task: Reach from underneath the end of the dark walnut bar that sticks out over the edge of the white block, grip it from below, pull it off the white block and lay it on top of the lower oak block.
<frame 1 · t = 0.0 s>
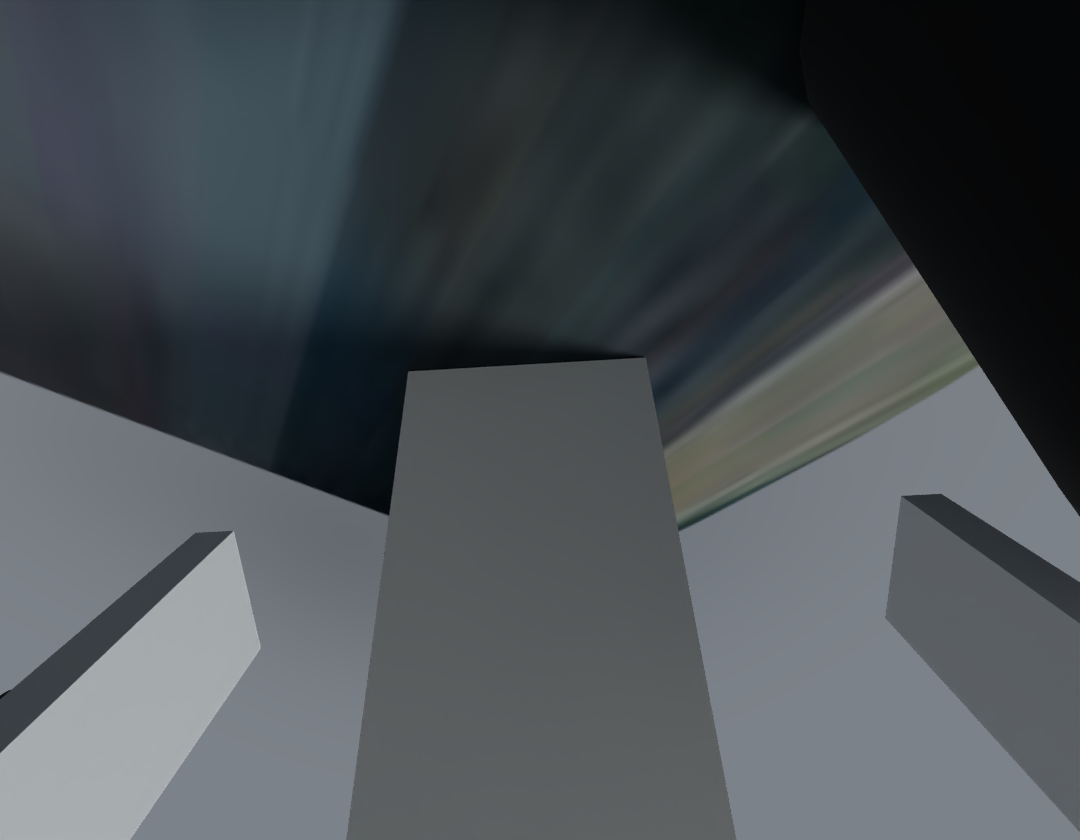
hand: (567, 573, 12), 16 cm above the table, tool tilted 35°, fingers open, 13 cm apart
white block: (531, 412, 33), on the table
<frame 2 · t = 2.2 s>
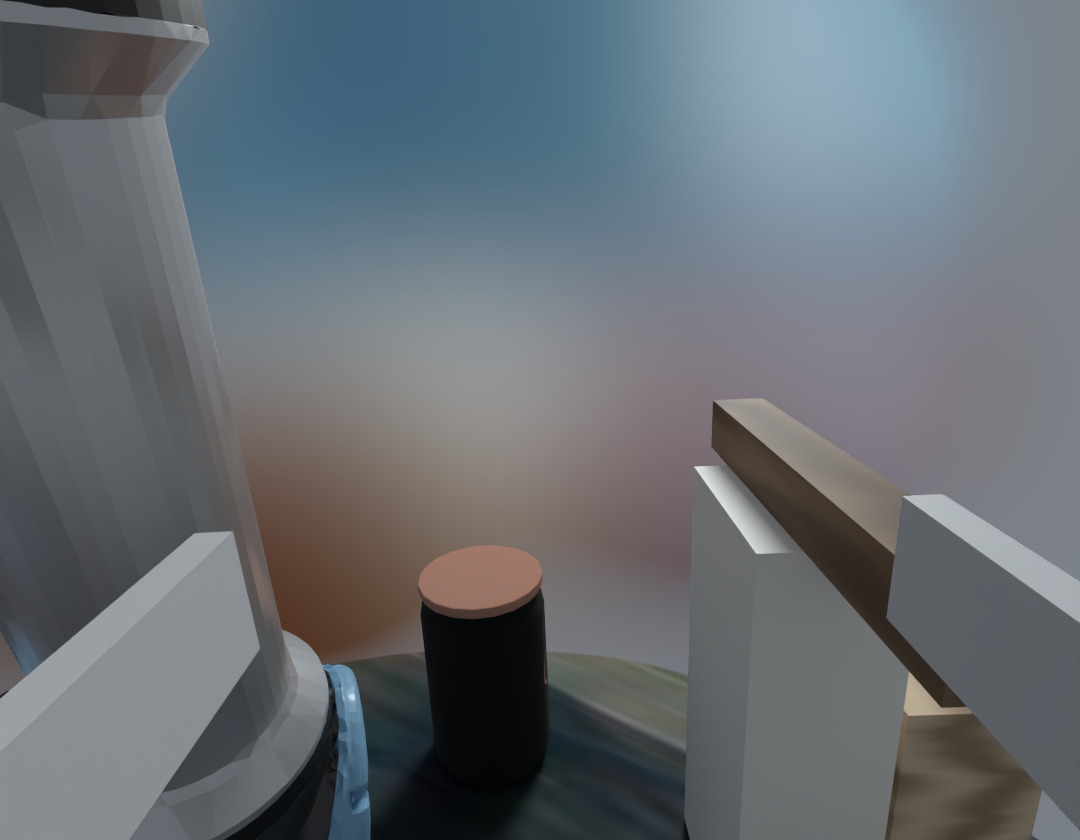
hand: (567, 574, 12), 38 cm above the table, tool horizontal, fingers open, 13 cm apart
coffee jar: (493, 746, 56), on the table
walnut bar: (813, 523, 31), point 30 cm above the table, touching white block
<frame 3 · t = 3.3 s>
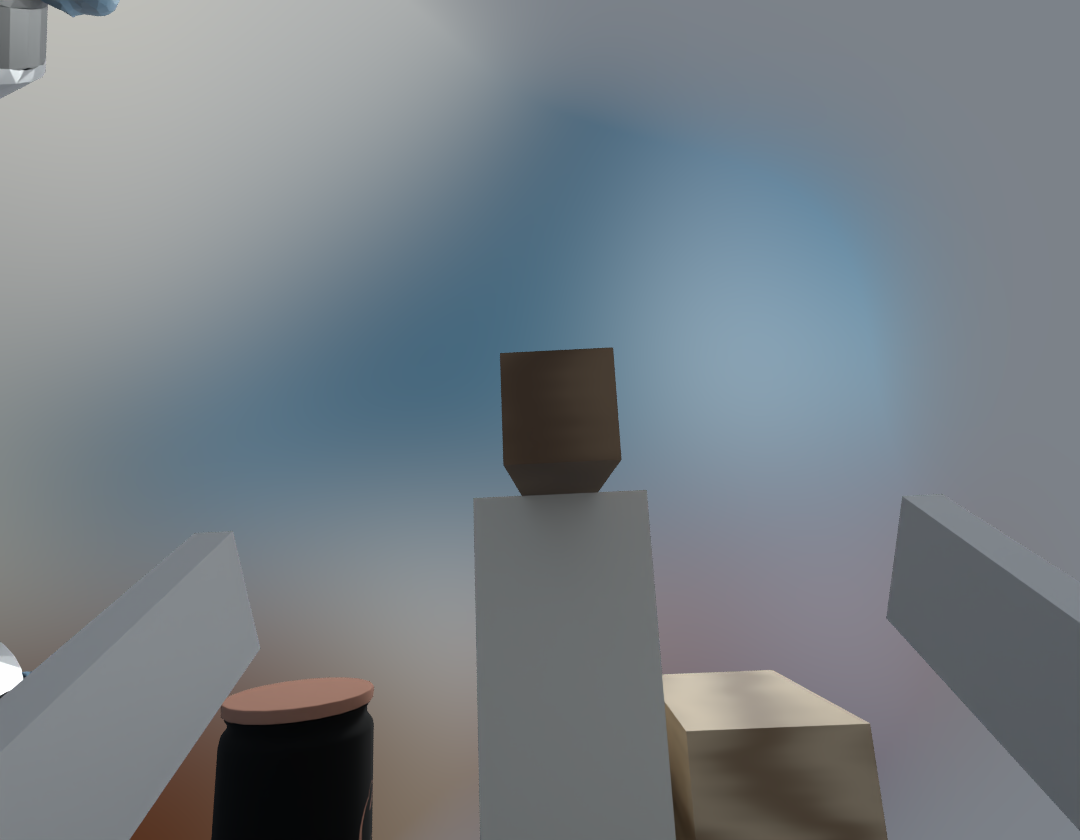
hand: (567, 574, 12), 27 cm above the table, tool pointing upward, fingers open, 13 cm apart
walnut bar: (559, 499, 30), point 30 cm above the table, touching white block
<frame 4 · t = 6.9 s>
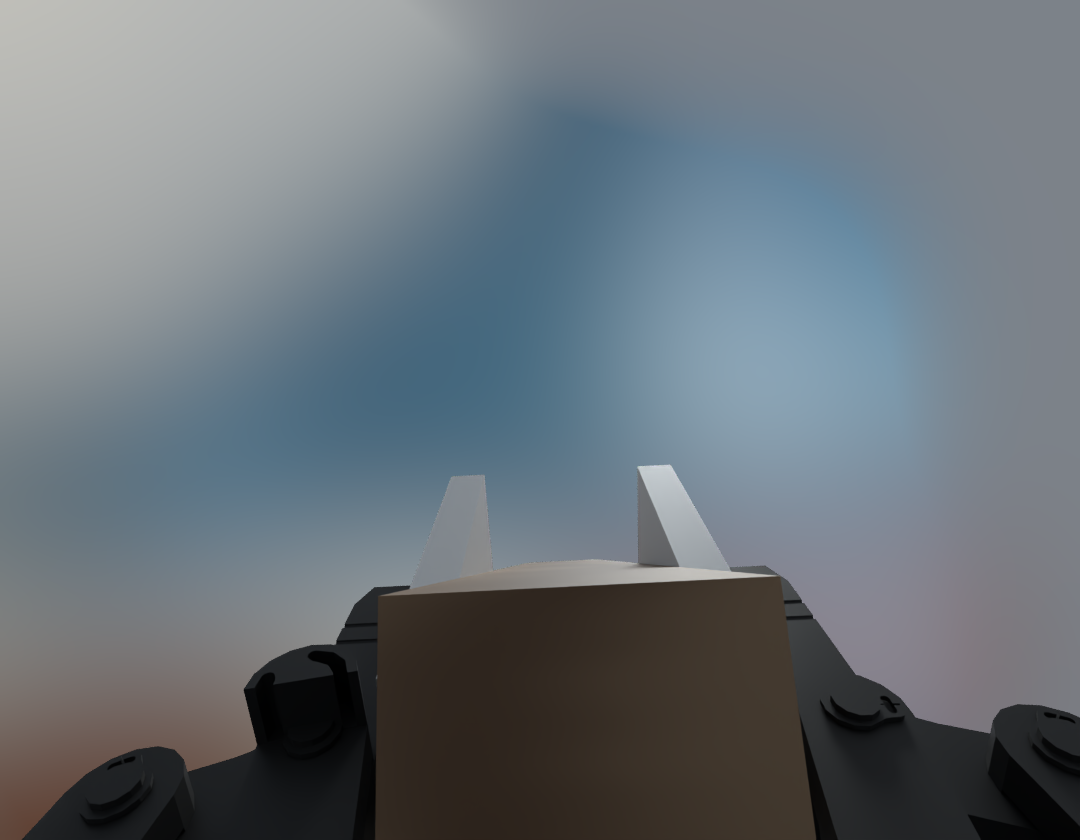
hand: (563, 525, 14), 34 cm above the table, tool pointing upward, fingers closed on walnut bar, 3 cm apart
walnut bar: (571, 689, 17), point 30 cm above the table, touching gripper, white block
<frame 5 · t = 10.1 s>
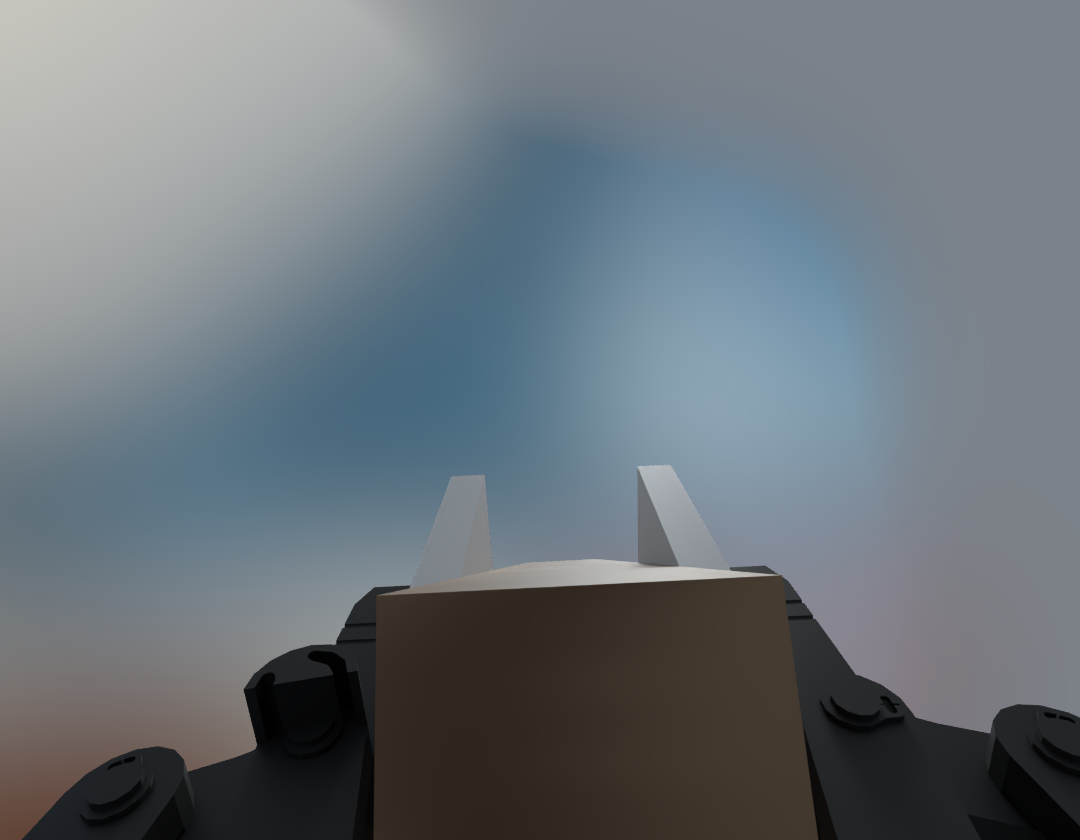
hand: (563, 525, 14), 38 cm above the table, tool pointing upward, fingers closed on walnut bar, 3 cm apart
walnut bar: (571, 689, 17), point 34 cm above the table, touching gripper
when the fingers open (25 cm above the table, at t = 13.6 s): walnut bar drops 1 cm, resting on oak block.
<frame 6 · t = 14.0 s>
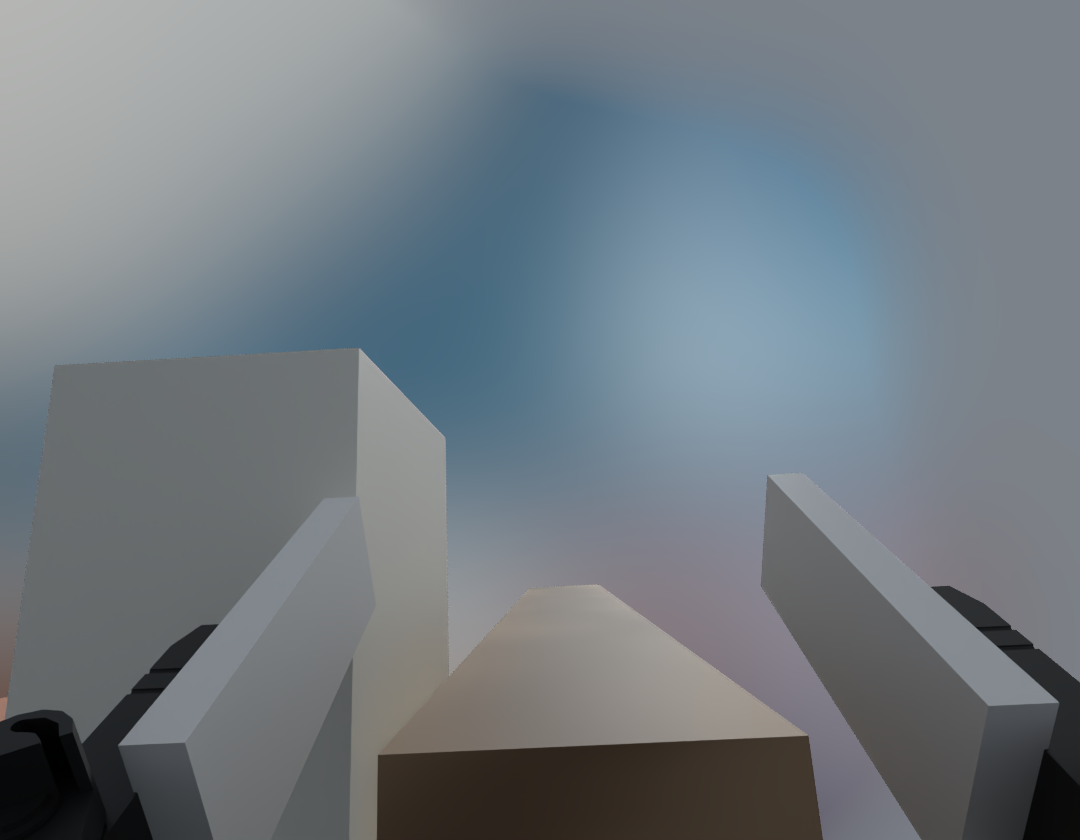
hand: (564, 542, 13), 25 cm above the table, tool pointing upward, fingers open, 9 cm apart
walnut bar: (575, 738, 17), point 19 cm above the table, touching oak block
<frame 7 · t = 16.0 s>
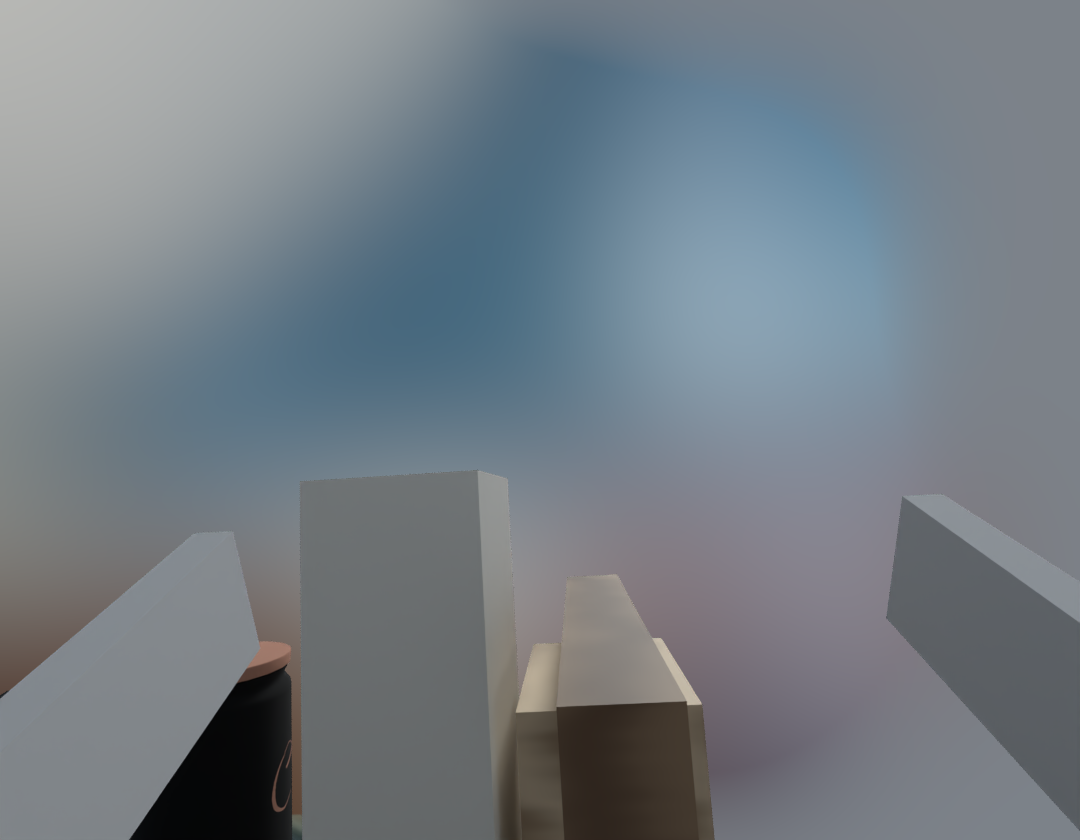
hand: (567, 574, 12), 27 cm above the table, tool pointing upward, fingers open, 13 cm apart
walnut bar: (605, 686, 28), point 19 cm above the table, touching oak block
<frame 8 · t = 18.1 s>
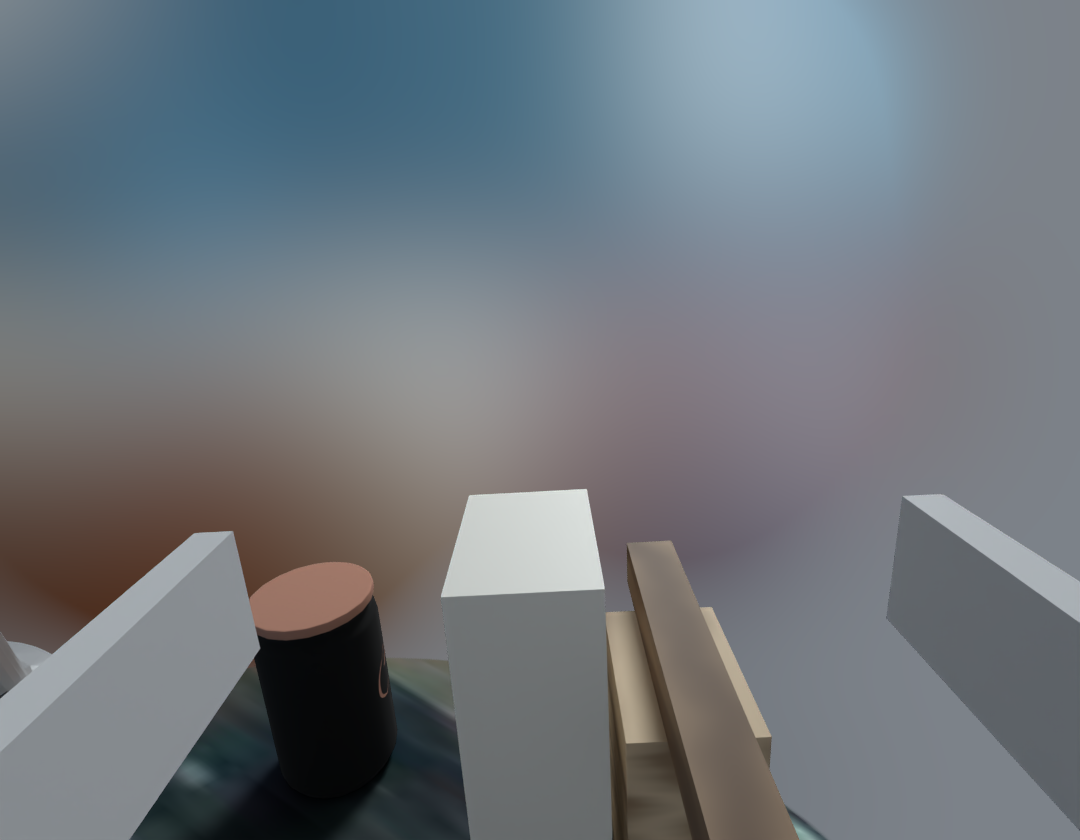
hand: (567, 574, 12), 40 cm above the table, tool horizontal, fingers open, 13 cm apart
coffee jar: (342, 756, 57), on the table
walnut bar: (686, 700, 35), point 19 cm above the table, touching oak block
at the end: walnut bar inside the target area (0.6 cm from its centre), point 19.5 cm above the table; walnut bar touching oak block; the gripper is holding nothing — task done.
